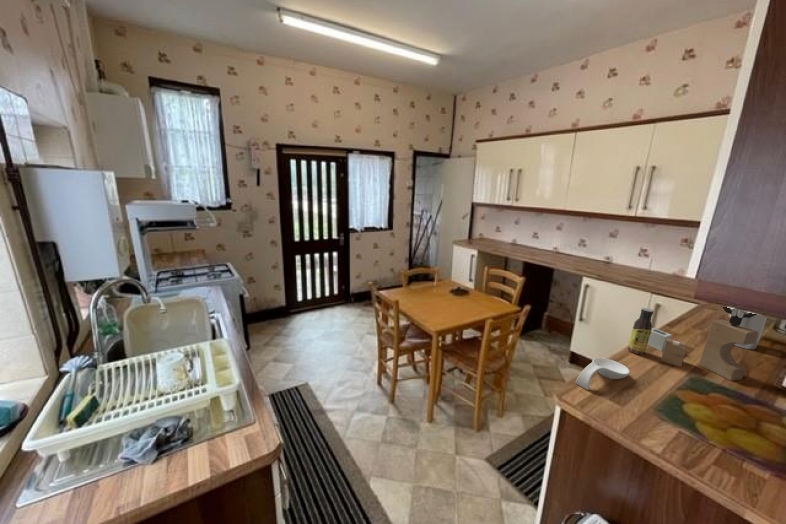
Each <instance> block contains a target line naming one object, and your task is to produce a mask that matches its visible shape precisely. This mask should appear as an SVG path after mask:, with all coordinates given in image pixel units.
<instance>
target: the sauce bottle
mask: <svg viewBox="0 0 786 524" xmlns="http://www.w3.org/2000/svg"><path fill="white" fill-rule="evenodd" d="M640 311H641V312H640V315H639V318H638V319H636V321H634V324H633V326H632V329H631V333H630V336H629V340H628V343H627V347H628V348H627V347H626V348H627V350H628V351H629V352H630V353H633V354H635V355H644V354H645V352H646V350H647V346H648V345H647V344H648V340H649V337H650V334H651V331H652V328H653V327H652V324H653V323H652V317H653V314H654V312H655V311H654V310H653V309H651V308H648V307H641V310H640Z"/></svg>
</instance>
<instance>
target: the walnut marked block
mask: <svg viewBox="0 0 786 524" xmlns="http://www.w3.org/2000/svg"><path fill="white" fill-rule="evenodd" d="M686 350H687V345H686V342H682V341H678V340H673V339H672V338H671V339H666V342H665V346H664V349H663V351H662V354H661V362H664V363H666V364H670V365H674V366H678V367H679V368H680V367H682V364H683V361H684V357H685V354H686Z"/></svg>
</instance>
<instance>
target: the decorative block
mask: <svg viewBox="0 0 786 524" xmlns="http://www.w3.org/2000/svg"><path fill="white" fill-rule="evenodd" d="M729 321H730V320H726V319H725V318H724V319H723V318H721V319H715V320H711V324H710V328H709V331H708V334H707V337H706V341H705V343H704V346H703V349H702V353H701V356H700V359H699V362H698V364H699V366H700V367H702V368H704V369H706V370H708V371H711V372H713V373H714V374H716V375H719V376H720V377H722V378H724V379H726V380H728V381H731V382H733V381H738V380H742V379H743V377H744V374H745V372H746V369H745V367H743V366H741V365H740V364H739V363H737V361H736V360H735V359H734V357H733V355H732V348H733V346H735V345H734V344H737V343H738V344H742V345H747V344H754V343H755V341H756V338H757V335H758V332H757V331H754V330H752V329H749V328H746V327H743V326H740V325H739V326H737V327H736V326H732V325H731V323H729Z"/></svg>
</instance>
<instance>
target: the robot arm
mask: <svg viewBox="0 0 786 524" xmlns="http://www.w3.org/2000/svg"><path fill="white" fill-rule="evenodd" d="M722 309H723V310H724V312H725V313H726V314H729V315H730V318H729V320H728V321H729V323H731V325H732V326H736V327H737V326H739V325H740V326H743V327H746V328H749V329H752V330H754V331H757V332H758V335H757V338H756V341H755V343H754V344H747V345H742V344H738V343H737V344H734V345H733V346H736V347H737V348H742V349H746V350H755V349H757V346H758V344H759V341H760V338H761V335H762V334H763V330H764V328H765V324H766V322H767V319H768V317H767V318H766V317H763V316H760V315H757V314H752V313H747V312H744V311H738V310H735V309H732V308H731V307H730V308H727V307H722Z"/></svg>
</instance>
